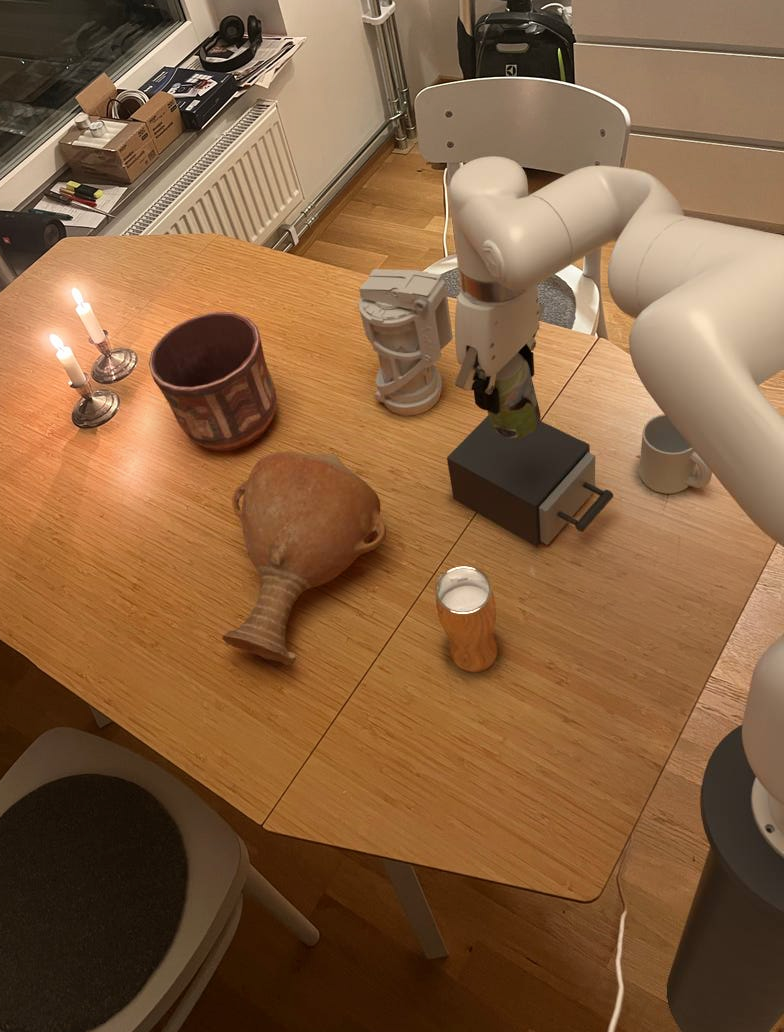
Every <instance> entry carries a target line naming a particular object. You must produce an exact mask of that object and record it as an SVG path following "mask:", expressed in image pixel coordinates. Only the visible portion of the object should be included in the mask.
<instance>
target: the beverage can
mask: <svg viewBox="0 0 784 1032" xmlns="http://www.w3.org/2000/svg"><path fill="white" fill-rule="evenodd" d="M479 378H482V379H484V380H486V378H487V376H486V375H485V372H483V371H480V374H479ZM494 387H496V388H497V389H498V392H499V403H500V412H499V413H498V414H494V413H491V412H489V411H487V413H488V414H487V415H489V417H490V421H491V424H492V427H493V429H494V431H495V432H496V433H497V434H499V435H500V436H502V437H505V438H510V439H516V438H521V437H525V436H527V435H529V434H530V433H532V432H533V431H534V430H535V429H536V428H537V427H538V425H539V423H540V421H541V420H542V419H541V417H542V415H541V410H540V406H539V402H538V397H537V394H536V389H535V385H534V382H533V377H531V373H530V369H529V365H528V362H527V361H526V359H525V358H524V357H523V356H522V355H520V354H519V353H517V354H516V355H515V356H514V357H513V358H512V359H511V360H510V361H509V362H508V363H507V364H506V365H505V366H504V367H503V368H502V369H501V370H500V371H498V372H497V376H496V381H495V386H494Z"/></svg>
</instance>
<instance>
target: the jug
mask: <svg viewBox="0 0 784 1032" xmlns="http://www.w3.org/2000/svg"><path fill="white" fill-rule="evenodd" d="M242 496H243V497H242ZM241 497H242V504H241V507H240V499H241ZM231 505H232V509H233V510H234V513H235V515H236V516H237V517H238V519H239V521H240V522H241V526H242V527H241V528H242V533H243V539H244V544H245V548H246V551H247V554H248V557H249V559H250V562H252V564H253V565H254V567H255V568H256V571H257V572H258V573H259V576H260V578H261V589H260V592H259V595H258V597H257V600H256V603H255V605H254V607H253V609H252V610H251V613H250V614H249V616H248V617H247V618H246V619H245V621H244V622H243V623H242V624H241V625H240V626H239V627H238V628H236V629H233V630H230V631H228V632H225V633H224V634H223V635H222V640H223V641H224V643H225V644H226V645H228V646H231V647H233V648H237V649H239V650H242V651H245V652H247V653H250V654H254V655H256V656H259V657H261V658H263V659H265V660H271V661H274V662H280V663H282V664H283V665H291V664H294V663H295V662H296V660H297V655H296V653H294V652H292V651H291V652H290V651H288V648H287V645H286V632H287V625H288V621H289V617H290V614H291V612H292V609H293V606H294V604H295V603H296V601H297V599H298V598H299V597H300V595H301V594H302V593H303V592H305V591H307V590H308V589H312V588H316V587H319V586H322V585H324V584H327V583H329V582H330V581H332V580H333V579H335V578H336V577H338V576H339V575H340V574H342V573H343V572H345V571H346V570H347V569H348V568H349V567H350V566H351V565H352V564H353V563H354V562H355V560H356V559H357V558H358V557H359V556H360V555H362V554H365V553H369V552H370V551H373V550H375V549H377V548H378V547H379V546H380V545H382V543H383V542H384V541H385V539H386V535H387V527H386V525H385V522H384V520H383V518H382V517H381V515H380V513H381V500H380V497H379V495H378V494H377V492H376V491H375V490H374V489H373V488H372V487H371V486H370V485H369V484H368V483H367V482H366V481H365V480H363V479H362V478H361V477H360V476H358V475H357V474H356V473H354V472H353V471H351V469H349V468H348V467H347V466H346V465H345V464H344V463H343V462H342V460H341V458H340V457H339V456H338V455H336V454H335V453H332V452H331V453H330V452H328V453H322V454H309V453H307V454H306V453H302V452H296V451H275V452H271V453H269V454H267V455H265V456H262V457H260V458H259V459H258V460H257V462H256V463H255V465H254V466H253V468H252V469H251V472H250V473H249V475H248V478H247V479H246V480H245V481H243V482H242V483H241V484H240V485H238V486H237V487H236V489H235V490H234V493H233V495H232V499H231ZM375 532H376V533H377V534H378V535H377V536H376V537H375V539H374V540H373V541H370V539H371V538H372V536H373V533H375ZM369 541H370V542H369Z"/></svg>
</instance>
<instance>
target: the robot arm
mask: <svg viewBox="0 0 784 1032" xmlns="http://www.w3.org/2000/svg"><path fill="white" fill-rule="evenodd" d="M448 196H449V197H448V198H449V204H450V205H449V207H450V214H451V221H452V230H453V238H454V245H455V254H456V263H457V271H458V278H459V288H460V292H459V293H458V295H457V296H456V303H455V310H454V341H455V342H454V343H455V353H456V360H457V363H458V364H459V365H461V367H460V370H459V372H458V375H457V377H456V378H455V382H454V385H455V386H456V387H458V388H459V389H461V390H464V391H471V392H472V391H473V397H474V403H475V405H476V406H477V407H478V408H479V409H481V410H483V411H487V412H488V411H489V412H491V413H494V414H498V413H499V412H500V403H499V392H498V389H497V388H496V387H494V386H495V381H496V376H497V372H498V371H500V370H501V369H502V368H503V367H504V366H505V365H506V364H507V363H508V362H509V361H510V360H511V359H512V358H513V357H514V356H515V355H516V354H517V353H519V354H520V355H522V356H523V357H524V358H525V359H526V361H527V362H528V365H529V369H530V373H531V377H532V378H533V377H534V376H535V360H534V359H535V358H534V357H535V356H534V352H533V351H534V350H535V348H536V347H537V341H536V339H535V337H536V336H537V333H538V330H539V329H540V321H541V319H542V316H543V313H544V311H545V309H546V304H543V303H541V302H540V300H539V293H538V287H537V286H538V284H540V283H542V282H545V280H548V279H549V278H551V277H552V276H554V275H556V274H558V273H560V272H561V271H563V270H565V269H566V268H567V267H569V266H571V265H573V264H575V263H576V262H577V261H580V260H581V259H583V258H584V257H586V256H588V255H590V254H592V253H593V252H595V251H598V250H599V249H601V248H603V247H604V246H606V245H608V244H609V243H613V242H615V244H614V246H613V249H612V251H611V254H610V257H609V262H608V266H607V267H608V268H607V284H608V290H609V294H610V296H611V299H612V300H613V302H614V304H615V305H616V307H618V309H619V310H620V311H621V312H622V313H623V314H625V315H627V316H629V317H630V318H632V319H635V320H634V321H633V323H632V326H631V329H630V333H629V336H628V346H629V347H628V348H629V349H628V351H629V354H630V358H631V362H632V365H633V368H634V370H635V372H636V374H637V376H638V378H639V380H640V382H641V384H642V385H643V387H644V389H645V390H646V391H647V393H648V394H649V395H650V397H651V398H652V399H653V401H654V402H655V404H656V405H657V406H658V408H659V409H660V411H662V413H663V414H665V415H666V416H667V418H668V419H669V420H670V421H671V423H672V424H673V425H674V426H675V428H676V429H677V430H678V431H679V433H680V434H681V435H682V436H683V437H684V439H685V440H686V441H687V442H688V443H689V445H690V446H691V447H692V448H693V449H694V451H695V452H696V453H697V454H698V455H699V457H700V458H701V459H702V460H703V461H704V463H705V464H706V465H707V466H708V468H709V469H710V470H711V471H712V475H714V476H715V478H716V479H717V480H718V481H719V483H720V484H721V485H722V486H723V488H724V489H725V490H726V491H727V492H728V494H729V495H730V496H731V498H732V499H733V500H734V502H735V503H736V504H737V505H738V507H740V509H741V510H742V511H743V512H744V513H745V515H746V516H747V517H748V518H749V519H750V521H752V523H753V524H754V525H755V526H757V527H758V529H760V530H761V531H762V532H763V533H764V534H765V535H766V536H767V537H769V538H770V539H771V540H772V541H773V542H775V543H777V544H778V545H780V546H781V547H783V548H784V416H782V414H781V413H780V412H779V411H778V410H777V408H776V407H775V406H774V405H773V404H772V403H771V401H770V400H769V398H767V396H766V395H765V394H764V392H763V391H762V390H761V389H760V387H759V386H760V385H762V384H763V383H765V382H766V381H768V380H769V379H771V378H773V377H775V376H776V375H778V374H779V373H781V372H782V371H784V235H782V234H778V233H774V232H769V231H763V230H759V229H754V228H748V227H744V226H738V225H733V224H728V223H723V222H717V221H714V220H713V221H712V220H708V219H702V218H698V217H693V216H686V215H685V213H684V211H683V209H682V207H681V204H680V203H679V201H678V200H677V198H676V197H675V195H673V194H672V192H671V191H670V190H669V189H668V188H667V187H666V186H665V184H663V183H662V182H661V180H659V179H658V178H656V177H655V176H654V175H652V174H651V173H648V172H646V171H642V170H639V169H633V168H627V167H622V166H621V167H620V166H612V165H589V166H585V167H581V168H578V169H575V170H573V171H571V172H569V173H567V174H564V175H563V176H561V177H559V178H557V179H555V180H553V181H552V182H550V183H549V184H547V185H545V186H543V187H542V188H540V189H538V190H536V191H534V192H533V193H531V194H529V182H528V177H527V173H526V171H525V170H524V169H523V167H522V166H521V165H520V164H519V163H518V162H516V161H515V160H512V159H511V158H507V157H503V156H495V155H491V156H483V157H478V158H475V159H472V160H470V161H468V162H466V163H464V164H463V165H462V166H460V167H459V168H458V169H456V171H455V172H454V174H453V175H452V176H451V179H450V182H449V186H448ZM480 371H483V372H485V375H486V376H487V378H486V380H484V379H482V378H479V374H480ZM741 723H742V724H741V725H742V741H743V746H744V750H745V754H746V757H747V759H748V762H749V764H750V766H751V768H752V770H753V772H754V774H755V776H756V778H755V781H754V783H753V786H752V792H751V809H752V812H753V816H754V820H755V822H756V824H757V827H758V829H759V831H760V833H761V834H762V835H763V837H764V838H765V840H766V841H767V843H768V844H769V845H770V846H771V847H772V848H773V849H774V850H775V851H776V852H777V853H778V854H779V855H780V856H781V857H783V858H784V633H783V634H782V635H780V637H778V638H777V639H775V640H774V641H773V642H772V643H771V644H770V645H769V647H768V648H767V649H765V651H764V652H763V653H762V654H761V656H760V657H759V659H758V660H757V662H756V663H755V666H754V668H753V672H752V675H751V679H750V684H749V689H748V693H747V698H746V703H745V707H744V711H743V718H742V722H741ZM766 829H769V830H770V831H771V833H769V832H767V831H766Z"/></svg>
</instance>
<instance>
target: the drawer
mask: <svg viewBox="0 0 784 1032" xmlns="http://www.w3.org/2000/svg"><path fill="white" fill-rule="evenodd" d="M593 494H596V495H598V497H597V498H596V499H595V501H594V502H593V503H592V504H591V505H590V507H589V508H588V509H587V510H586V511H585V513H583V515H582V516H581V517H580V518H579V520H578V519H576V518H574V516H575V514H576V513H577V512H578V511H579V510H580V509H581V508H582V506H583V505H584V504H585V503H586V502H587V500H588V499H589V498H591V496H592V495H593ZM613 498H614V492H612V491H611V490H609V489H604V490H603V489H601V488H599V487H597V486H596V455H595V454H593V453H591V452H590V453H589V452H588V453H587V454H586V455H585V456H584V457H583V458H582V459H581V461H580V462H579V463H578V464H577V465H576V464H575V465H574V466H573V467H572V468H571V470H570V471H569V472H568V473H567V474H566V475H565V476H564V477H563V479H562V480H561V481H560V482H559V483H558V484H557V485H556V486H555V487H554V489H553V490H552V491H551V492H550V493H549V494H548V495H547V496H546V498H545V499H544V500H543V501H542V502H541V503H540V504H539V505H538V508H539V526H540V541H541V543H543V544H545V545H547V546H548V545H549V544H550V543H551V542H552V541H553V540H554V538H555V537H556V536H558V534H559V533H560V532H561V531H562V529H563V528H564V527H565V526H566V525H567V524H568V523H569V524H571V525H573V526H574V527H575V529H576V530H577V531H578V532H580V533H584V532H585V531H586V530H587V529H588V527H589V526H590V525H591V524H592V523H593V522H594V520H595V519H596V518H597V517H598V516H599V514H600V513H601V512H602V511H603V510H604V509H605V508H606V506H607V505H608V504H609V503H610V502H611V500H612V499H613Z"/></svg>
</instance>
